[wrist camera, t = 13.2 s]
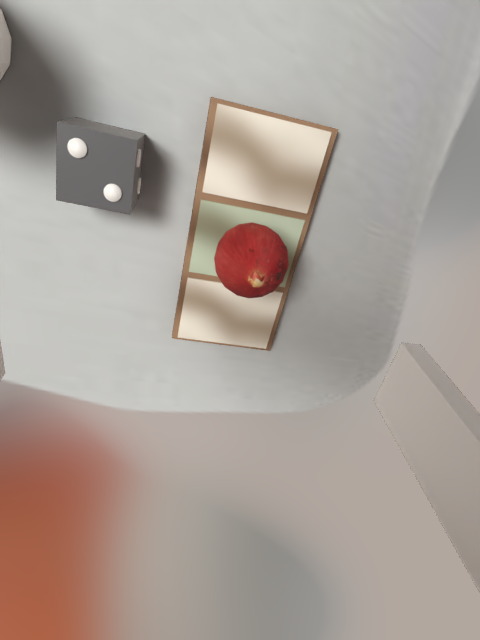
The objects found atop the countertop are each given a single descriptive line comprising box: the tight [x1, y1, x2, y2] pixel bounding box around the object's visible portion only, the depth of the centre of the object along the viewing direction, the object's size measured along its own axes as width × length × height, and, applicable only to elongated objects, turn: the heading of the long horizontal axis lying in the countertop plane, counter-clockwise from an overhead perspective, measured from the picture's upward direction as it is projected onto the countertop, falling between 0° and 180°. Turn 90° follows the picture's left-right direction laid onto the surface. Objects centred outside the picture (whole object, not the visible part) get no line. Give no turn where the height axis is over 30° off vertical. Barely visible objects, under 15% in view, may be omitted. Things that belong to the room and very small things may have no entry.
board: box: [172, 97, 338, 351], centre depth 35 cm, size 21×10×1 cm, turn 167°
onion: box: [214, 222, 289, 298], centre depth 31 cm, size 6×6×8 cm
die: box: [56, 117, 145, 214], centre depth 28 cm, size 5×5×5 cm
